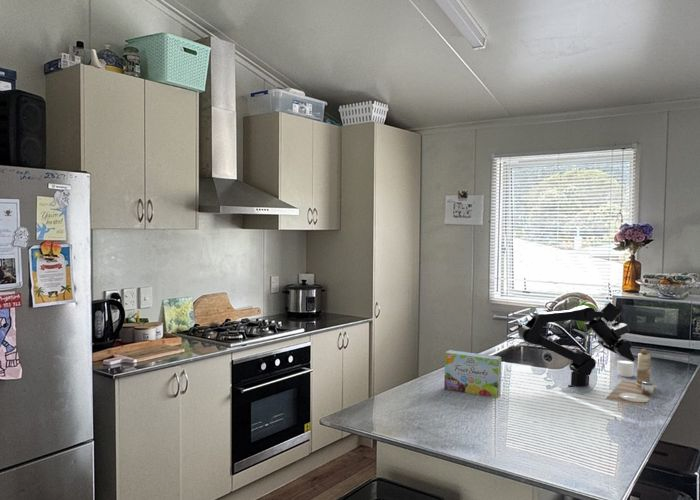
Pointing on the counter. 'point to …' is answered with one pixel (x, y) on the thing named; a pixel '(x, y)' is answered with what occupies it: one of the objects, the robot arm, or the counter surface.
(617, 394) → the serving board
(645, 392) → the spice tin
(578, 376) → the robot arm
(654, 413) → the counter surface
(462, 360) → the snack box
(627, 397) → the white saucer
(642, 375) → the pepper mill
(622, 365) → the white cup
